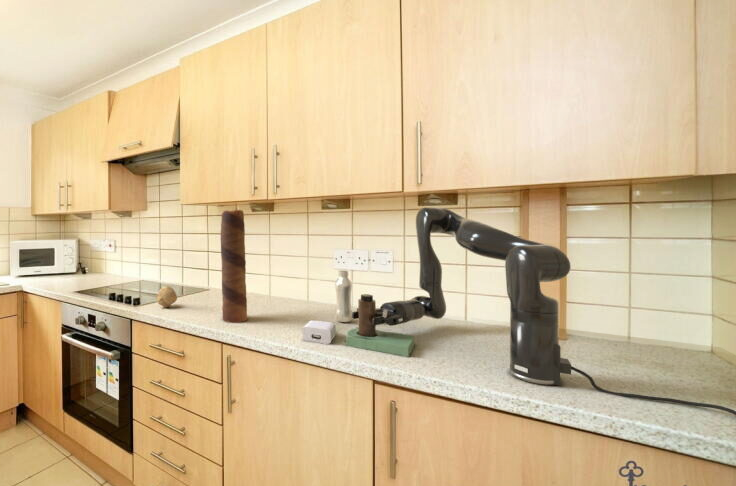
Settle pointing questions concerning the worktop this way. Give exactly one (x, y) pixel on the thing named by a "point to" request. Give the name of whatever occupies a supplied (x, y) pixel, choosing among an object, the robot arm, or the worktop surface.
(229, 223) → the wafer roll
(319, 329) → the charger
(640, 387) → the worktop surface
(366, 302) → the pepper mill
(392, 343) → the board
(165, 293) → the natural sponge
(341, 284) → the plastic bottle
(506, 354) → the worktop surface
